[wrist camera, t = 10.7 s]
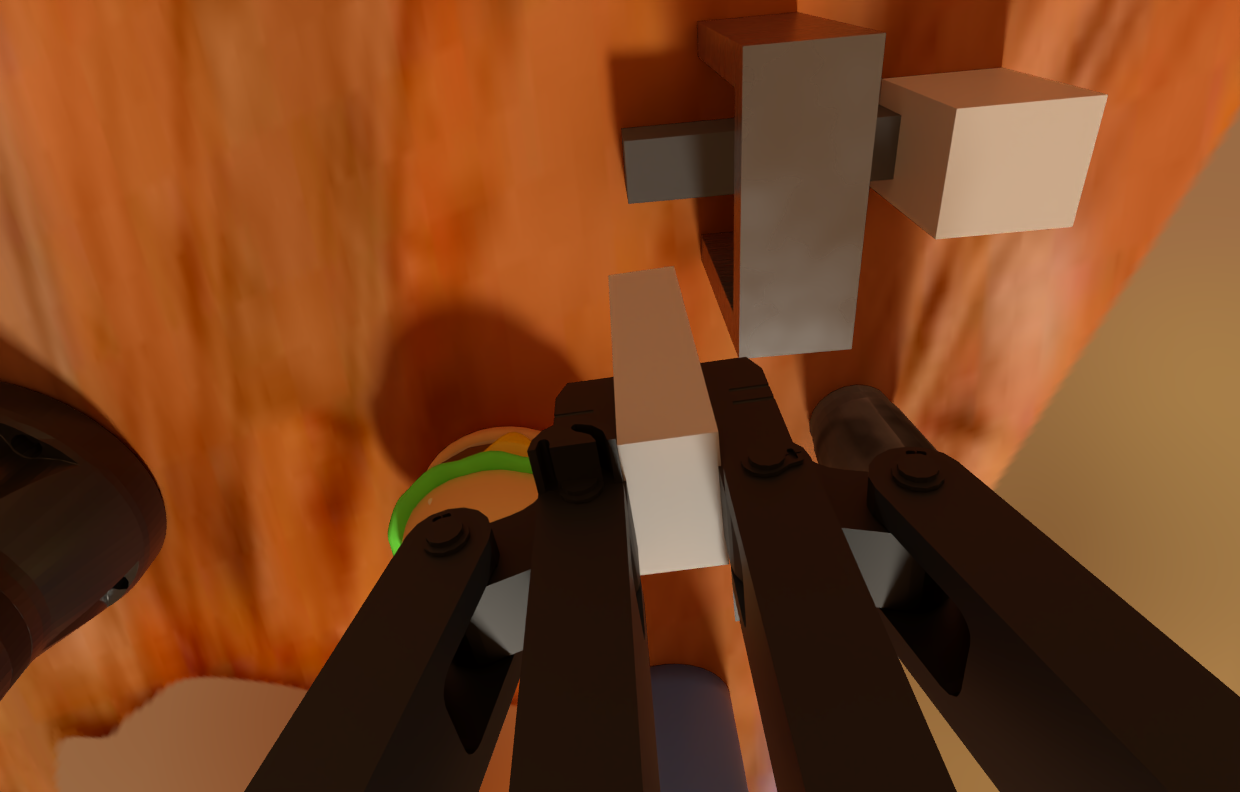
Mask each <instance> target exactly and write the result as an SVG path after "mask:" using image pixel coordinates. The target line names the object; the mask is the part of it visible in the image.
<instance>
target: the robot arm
mask: <svg viewBox="0 0 1240 792" xmlns="http://www.w3.org/2000/svg"><path fill="white" fill-rule="evenodd" d="M608 277H609V296H610V316H611V335H612V355H613V374H614V377H610V378H603V379H595V380H588V381H581V382H574V383H567V384H566V386H565V387H564V388H563V390H562V391H561V392H560V394H559V395H558V396H557V398H556V401H555V413H554V416H555V418H554V425H553V426H551V427H549V428H547V429H545V430H543V431H541V432H540V433H539V434H538V435H537V436H536V437H535V438H534V439H533V440H531V443H530V445H529V447H528V450H527V453H528V457H529V461H530V465H531V468H532V472H533V476H534V480H535V484H536V487H537V491H538V499H537V500H536V501H535V502H534V503H532V504H531V505H529V506H528V507H526V508H525V509H523V510H521V511H519V512H517V513H514V514H512V515H510V516H507V517H504V518H502V519H499V520H496V521H493V522H491V523H490V522H489V519H488V517H487V516H485V515H484V514H483V513H481V512H480V511H479V510H475V509H470V508H465V507H463V508H454V509H447V510H444V511H441V512H438V513H436V514H433V515H431V516H429V517H427V518H426V519H424V520H423V521H421V522H420V523H418V524H417V525H416V526H415V527H414V528H413V529H412V530H411V531H410V533H409V534H408V535H407V536H406V537H405V539H404V540H403V542H402V544H401V545H400V547H399V548H398V550H397V552H396V553H395V555H394V556H393V558H392V559H391V561H390V563H389V564H388V566H387V567H386V569H385V570H384V572H383V574H382V575H381V577H380V578H379V580H378V581H377V583H376V585H375V586H374V588H373V589H372V591H371V593H370V594H369V596H368V597H367V599H366V600H365V602H364V604H363V605H362V607H361V608H360V610H359V611H358V613H357V615H356V616H355V618H354V619H353V621H352V622H351V624H350V626H349V627H348V629H347V630H346V632H345V633H344V635H343V637H342V638H341V640H340V641H339V643H338V645H337V646H336V648H335V649H334V651H333V652H332V654H331V656H330V657H329V659H328V660H327V662H326V663H325V665H324V667H323V668H322V670H321V671H320V673H319V674H318V676H317V678H316V679H315V681H314V682H313V684H312V686H311V687H310V689H309V690H308V692H307V693H306V695H305V697H304V698H303V700H302V701H301V703H300V704H299V706H298V708H297V709H296V711H295V712H294V714H293V715H292V717H291V719H290V720H289V722H288V723H287V725H286V727H285V728H284V730H283V731H282V733H281V734H280V736H279V738H278V739H277V741H276V742H275V744H274V745H273V747H272V749H271V750H270V752H269V753H268V755H267V756H266V758H265V760H264V761H263V763H262V765H261V766H260V768H259V769H258V771H257V772H256V774H255V775H254V777H253V779H252V780H251V782H250V783H249V785H248V786H247V788H246V790H245V791H244V792H479V789H480V786H481V784H482V781H483V778H484V775H485V773H486V770H487V767H488V764H489V762H490V759H491V756H492V753H493V751H494V748H495V745H496V742H497V740H498V737H499V734H500V731H501V728H502V726H503V723H504V720H505V718H506V715H507V712H508V709H509V706H510V704H511V701H512V698H513V695H514V693H515V690H516V687H517V684H518V682H519V679H520V684H519V694H518V705H517V715H516V725H515V735H514V745H513V756H512V767H511V776H510V786H509V792H660V781H659V769H658V757H657V746H656V734H655V722H654V710H653V698H652V687H651V675H650V663H649V651H648V639H647V628H646V616H645V604H644V597H643V591H642V585H641V580H640V575H647V574H655V573H663V572H671V571H679V570H687V569H695V568H703V567H711V566H719V565H726V564H729V559H730V564H731V572H732V585H733V598H734V611H735V621H740V624H741V628H742V633H743V638H744V642H745V647H746V651H747V656H748V660H749V665H750V669H751V674H752V678H753V683H754V687H755V692H756V696H757V701H758V706H759V710H760V715H761V719H762V724H763V728H764V733H765V737H766V742H767V746H768V751H769V755H770V760H771V765H772V769H773V774H774V778H775V783H776V787H777V792H957V791H956V789H955V787H954V784H953V782H952V780H951V778H950V775H949V773H948V771H947V768H946V766H945V764H944V761H943V759H942V757H941V755H940V752H939V750H938V748H937V746H936V743H935V741H934V738H933V736H932V734H931V732H930V729H929V727H928V725H927V723H926V720H925V718H924V716H923V713H922V711H921V709H920V706H919V704H918V702H917V700H916V697H915V695H914V693H913V691H912V688H911V686H910V684H909V681H908V679H907V677H906V674H905V672H904V670H903V668H902V665H901V663H900V661H899V659H900V660H901V661H902V663H903V664H904V665H905V667H906V668H907V669H908V671H909V672H910V673H911V675H912V676H913V677H914V679H915V680H916V681H917V683H918V684H919V685H920V687H921V688H922V689H923V691H924V692H925V693H926V694H927V696H928V697H929V699H930V700H931V701H932V702H933V704H934V705H935V707H936V708H937V709H938V710H939V712H940V713H941V714H942V716H943V717H944V718H945V720H946V721H947V722H948V724H949V725H950V726H951V728H952V729H953V730H954V732H955V733H956V734H957V736H958V737H959V738H960V740H961V741H962V742H963V744H964V745H965V746H966V748H967V749H968V750H969V752H970V753H971V754H972V756H973V757H974V758H975V760H976V761H977V762H978V764H979V765H980V766H981V768H982V769H983V770H984V772H985V773H986V774H987V775H988V777H989V778H990V779H991V781H992V782H993V783H994V785H995V786H996V787H997V789H998V790H999V791H1000V792H1240V697H1239V696H1238V695H1237V694H1236V693H1234V692H1233V691H1232V690H1231V689H1230V688H1229V687H1227V686H1226V685H1225V684H1224V683H1223V682H1221V681H1220V680H1219V679H1218V678H1217V677H1215V676H1214V675H1213V674H1212V673H1211V672H1209V671H1208V670H1207V669H1206V668H1205V667H1203V666H1202V665H1201V664H1200V663H1199V662H1197V661H1196V660H1195V659H1194V658H1193V657H1191V656H1190V655H1189V654H1188V653H1187V652H1185V651H1184V650H1183V649H1182V648H1180V647H1179V646H1178V645H1177V644H1176V643H1175V642H1173V641H1172V640H1171V639H1170V638H1169V637H1167V636H1166V635H1165V634H1164V633H1163V632H1161V631H1160V630H1159V629H1158V628H1157V627H1155V626H1154V625H1153V624H1152V623H1151V622H1149V621H1148V620H1147V619H1146V618H1145V617H1144V616H1142V615H1141V614H1140V613H1139V612H1138V611H1136V610H1135V609H1134V608H1133V607H1132V606H1130V605H1129V604H1128V603H1127V602H1126V601H1124V600H1123V599H1122V598H1121V597H1119V596H1118V595H1117V594H1116V593H1115V592H1114V591H1112V590H1111V589H1110V588H1109V587H1108V586H1106V585H1105V584H1104V583H1103V582H1101V581H1100V580H1099V579H1098V578H1097V577H1096V576H1094V575H1093V574H1092V573H1091V572H1090V571H1088V570H1087V569H1086V568H1085V567H1084V566H1082V565H1081V564H1080V563H1079V562H1078V561H1076V560H1075V559H1074V558H1073V557H1071V556H1070V555H1069V554H1068V553H1067V552H1066V551H1064V550H1063V549H1062V548H1061V547H1060V546H1058V545H1057V544H1056V543H1055V542H1054V541H1052V540H1051V539H1050V538H1049V537H1048V536H1046V535H1045V534H1044V533H1043V532H1041V531H1040V530H1039V529H1038V528H1037V527H1036V526H1034V525H1033V524H1032V523H1031V522H1030V521H1029V520H1027V519H1026V518H1025V517H1024V516H1023V515H1021V514H1020V513H1019V512H1018V511H1017V510H1015V509H1014V508H1013V507H1012V506H1010V505H1009V504H1008V503H1007V502H1006V501H1005V500H1003V499H1002V498H1001V497H999V496H998V495H997V494H996V493H995V492H994V491H993V490H991V489H990V488H989V487H988V486H987V485H985V484H984V483H983V482H982V481H981V480H979V479H978V478H977V477H976V476H975V475H973V474H972V473H971V472H970V471H969V470H967V469H966V468H965V467H964V466H963V465H961V464H960V463H959V462H958V461H956V460H954V459H953V458H951V457H949V456H948V455H946V454H944V453H942V452H938V451H935V450H931V449H928V448H922V447H908V446H906V447H900V448H893V449H889V450H887V451H885V452H883V453H881V454H879V455H876V457H875V458H874V459H873V460H872V462H871V463H870V464H869V470H868V472H867V471H855V470H843V469H837V468H830V467H827V466H824V465H820V464H817V463H815V462H813V461H812V459H811V457H810V456H809V454H808V453H807V452H806V451H805V450H804V448H803V447H801V446H799V445H797V444H795V443H793V441H792V439H791V437H790V434H789V432H788V429H787V427H786V425H785V422H784V420H783V417H782V415H781V413H780V410H779V408H778V406H777V403H776V401H775V399H774V396H773V394H772V391H771V389H770V387H769V385H768V382H767V379H766V377H765V374H764V372H763V370H762V368H761V367H759V366H758V365H756V364H755V363H754V362H752V361H751V360H750V359H748V358H747V357H740V358H733V359H726V360H719V361H712V362H705V363H700V362H699V358H698V354H697V350H696V347H695V343H694V339H693V336H692V332H691V328H690V324H689V321H688V317H687V313H686V309H685V306H684V302H683V298H682V295H681V291H680V287H679V283H678V280H677V276H676V272H675V269H674V266H671V267H664V268H657V269H650V270H643V271H636V272H629V273H622V274H616V275H609V276H608ZM166 522H167V521H166V512H165V507H164V504H163V501H162V498H161V495H160V493H159V490H158V488H157V486H156V484H155V482H154V481H153V479H152V477H151V476H150V474H149V473H148V471H147V470H146V469H145V467H144V466H143V465H142V463H141V462H140V461H139V460H138V459H137V457H136V456H135V455H134V454H133V453H132V452H131V451H130V450H129V449H128V448H127V447H126V446H125V445H124V444H123V443H122V442H121V441H119V440H118V439H117V438H116V437H115V436H114V435H112V434H111V433H110V432H109V431H107V430H106V429H105V428H103V427H102V426H101V425H99V424H98V423H96V422H95V421H93V420H92V419H90V418H89V417H87V416H85V415H84V414H82V413H80V412H78V411H77V410H75V409H73V408H71V407H69V406H67V405H65V404H63V403H61V402H59V401H57V400H55V399H53V398H50V397H48V396H45V395H43V394H40V393H38V392H35V391H32V390H29V389H26V388H23V387H20V386H16V385H13V384H9V383H4V382H0V701H1V699H2V698H3V697H4V696H5V694H6V693H7V692H8V690H9V689H10V688H11V687H12V685H13V684H14V683H15V682H16V680H17V679H18V678H19V677H20V675H21V674H22V673H23V672H24V670H25V669H26V668H27V667H28V666H29V664H30V663H31V662H32V661H33V660H34V659H35V658H36V657H38V656H39V655H41V654H42V653H43V652H45V651H46V650H48V649H49V648H51V647H52V646H53V645H55V644H56V643H58V642H59V641H61V640H62V639H63V638H65V637H66V636H68V635H69V634H71V633H72V632H73V631H75V630H76V629H78V628H79V627H81V626H82V625H83V624H85V623H86V622H88V621H89V620H91V619H92V618H93V617H95V616H96V615H98V614H99V613H100V612H102V611H103V610H104V609H106V608H107V607H108V606H110V605H112V604H113V603H115V602H116V601H118V600H119V599H120V598H122V597H123V596H124V595H125V594H126V593H128V592H129V591H130V590H131V589H132V588H133V587H134V586H135V584H136V583H137V582H138V581H139V580H140V578H141V577H142V576H143V574H144V573H145V571H146V570H147V569H148V567H149V566H150V565H151V563H152V562H153V561H154V559H155V558H156V556H157V555H158V553H159V552H160V550H161V548H162V545H163V543H164V539H165V535H166ZM728 555H729V558H728ZM898 657H899V658H898Z"/></svg>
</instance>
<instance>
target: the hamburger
mask: <svg viewBox="0 0 1240 792" xmlns="http://www.w3.org/2000/svg"><path fill="white" fill-rule="evenodd" d="M540 432H541V431H539V430H535V429H530V428H525V427H514V426H506V427H493V428H488V429H484V430H479V431H476V432H474V433H471V434H468V435H466V436H464V437H462V438H460V439H458V440H457V441H455V442H453V443H451V444H450V445H448V446H447V447H446V448H445V449H444V450H443V451H441V452H440V453H439V454H438V455H437V457H436V458H435V459H434V460H433V462H432V463H431V464H430V466H429V467H428V469H427V471H426V472H425V473H423V474H422V475H421V476H420V477H419V478H418V479H417V480H416V481H415V482H414V483H413V484H412V486H411V487H410V488H409V489H408V490H407V491H406V492H405V493H404V494H403V495H402V496H401V497H400V498H399V500H398V502H397V503H396V505H395V508H394V510H393V513H392V516H391V520H390V523H389V529H388V540H389V543H390V546H391V549H392V553H393V556H394V555H395V553H396V552H397V550H398V548H399V547H400V545H401V544H402V542H403V540H404V539H405V537H406V536H407V535H408V534H409V533H410V531H411V530H412V529H413V528H414V527H415V526H416V525H417V524H418V523H420V522H421V521H423V520H424V519H426V518H427V517H429V516H431V515H433V514H436V513H438V512H441V511H444V510H447V509H454V508H463V507H465V508H470V509H475V510H479V511H480V512H481V513H483V514H484V515H485V516H487V517H488V519H489V522H490V523H491V522H493V521H496V520H499V519H502V518H504V517H507V516H510V515H512V514H514V513H517V512H519V511H521V510H523V509H525V508H526V507H528V506H529V505H531V504H532V503H534V502H535V501H536V500H537V499H538V491H537V487H536V484H535V480H534V476H533V472H532V468H531V465H530V461H529V457H528V453H527V450H528V447H529V445H530V443H531V440H533V439H534V438H535V437H536V436H537V435H538V434H539V433H540Z"/></svg>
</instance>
